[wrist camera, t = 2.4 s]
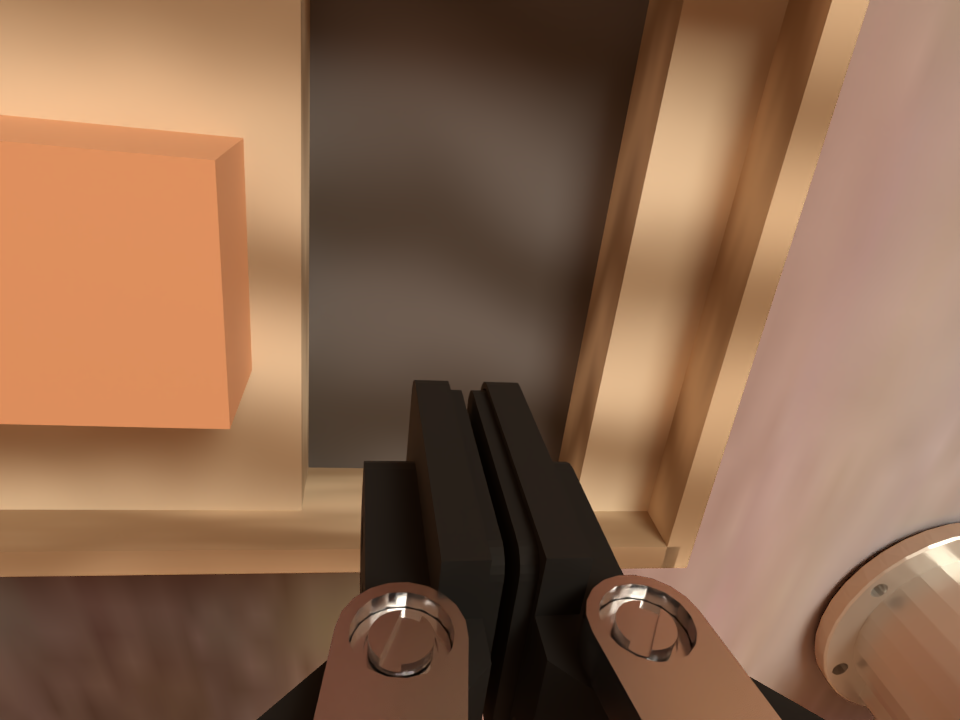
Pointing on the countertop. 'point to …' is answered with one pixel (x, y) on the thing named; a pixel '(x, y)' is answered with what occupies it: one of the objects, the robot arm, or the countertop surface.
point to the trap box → (439, 251)
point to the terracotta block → (122, 276)
